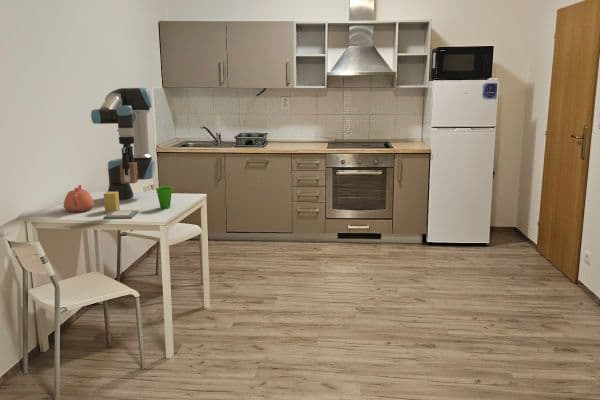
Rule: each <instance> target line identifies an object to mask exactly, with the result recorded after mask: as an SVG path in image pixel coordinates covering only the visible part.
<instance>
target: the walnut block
mask: <svg viewBox="0 0 600 400" xmlns="http://www.w3.org/2000/svg"><path fill="white" fill-rule="evenodd" d="M129 169H130V182H125V179H124V169H122V163H121V164H120V175H121V184H124V183H130V184H136V183H137V182H139V180H138V174H137V162H129Z"/></svg>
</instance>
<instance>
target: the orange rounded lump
mask: <svg viewBox="0 0 600 400" xmlns="http://www.w3.org/2000/svg"><path fill="white" fill-rule="evenodd" d="M73 189H74V190H69V191H68V192H67V194H66V196H65V198H64V201H63V209H64V210H65V211H67V212H71V213H79V212H87V211H90V210H91V209H92V208H93V206H94V203H95V202H94V199H93V197H92V196H91V194H90V193H89V192H88V190H87V189H83V188H82V185H81V184H78V186H77V187H74V188H73Z"/></svg>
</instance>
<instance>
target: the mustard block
mask: <svg viewBox="0 0 600 400" xmlns="http://www.w3.org/2000/svg"><path fill="white" fill-rule="evenodd" d="M103 201H104V202H103V203H104V212H105V213H110V212H111V211H121V210H120V209H121V206H120V200H119V193H118V192H108V191H106V192H104V193H103Z"/></svg>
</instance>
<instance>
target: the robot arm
mask: <svg viewBox="0 0 600 400" xmlns="http://www.w3.org/2000/svg"><path fill="white" fill-rule="evenodd" d="M152 107H153V102H152V97H151V93H150V90H149V89H148V88H145V87H121V88H117V89H114V90H112V91H111V92H109V93H108V94H107V95H106V96H105V98H104V102H103V104H101V106H100V108H96V109H94V108H93V109H92V110H91V112H90V113H91V114H90V117H91V121H92V123H93V124H94V125H95V124H96V125H97V124H98V125H109V124H110V125H112V124H113V125H114V124H117V128H118V129H117V132H118V143H119V145H123V146H122V147H121V158H115V159H111V160H109V161H108V162H107V174H108V190H107V192H118V193H119V201H121V200H128V199H132V198H134V191H133V189H132V187H131V183H124V184H121V175H120V164H121V163H122V169H124V179H125V182H130V169H129V162H137V174H138V181H139V180H141V181H142V180H143V181H145V180H152V179H153V177H154V174H155V167H156V166H155V163H156V162H155V159H152V158H153V157H152V156H151V154H150V148H149V128H148V127H149V126H148V114H149V113H150V109H152ZM132 144H133V146H132Z"/></svg>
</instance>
